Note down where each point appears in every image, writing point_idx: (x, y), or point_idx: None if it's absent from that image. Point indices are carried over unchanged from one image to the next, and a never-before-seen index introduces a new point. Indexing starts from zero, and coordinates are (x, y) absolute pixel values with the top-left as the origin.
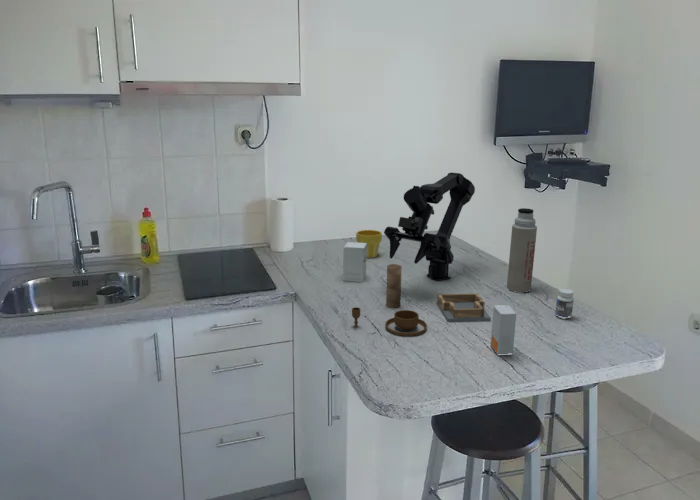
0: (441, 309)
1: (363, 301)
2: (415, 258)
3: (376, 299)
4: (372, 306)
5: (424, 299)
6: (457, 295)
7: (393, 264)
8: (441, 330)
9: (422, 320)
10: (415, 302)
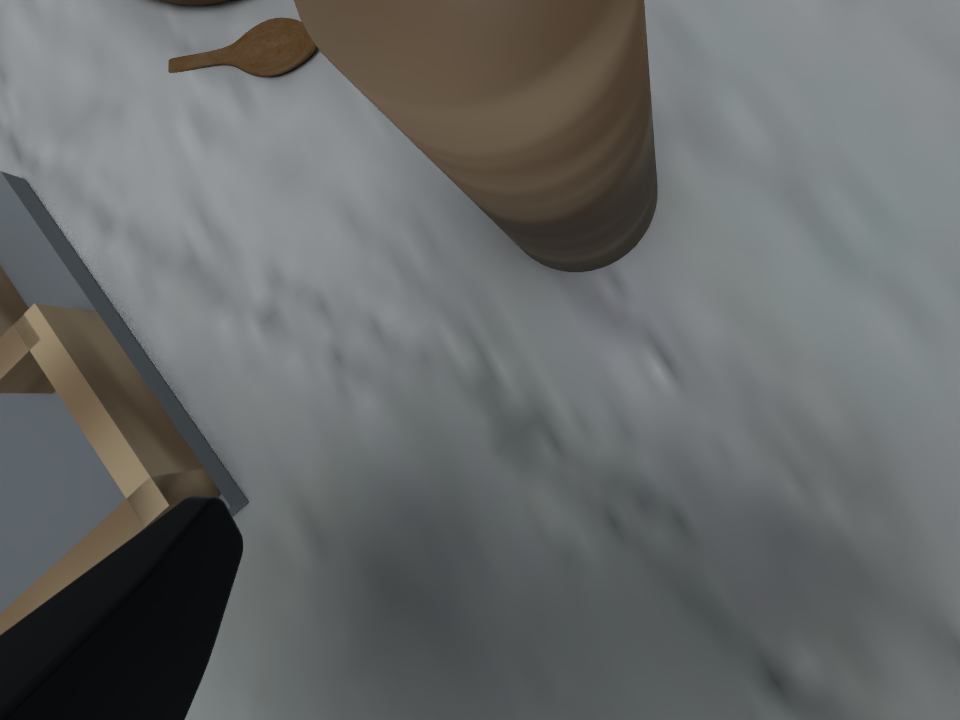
0: (129, 349)
1: (943, 73)
2: (147, 557)
3: (846, 229)
4: (752, 23)
5: (399, 553)
6: (12, 603)
7: (553, 37)
8: (3, 5)
9: (184, 65)
10: (433, 418)
